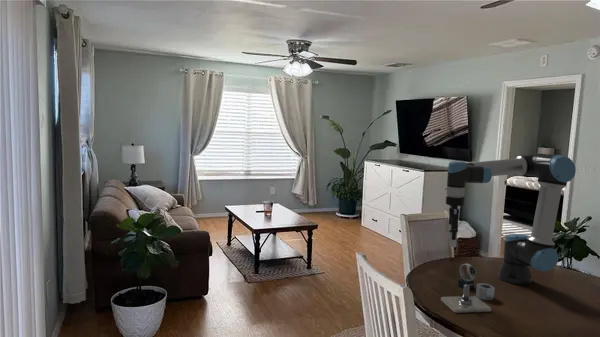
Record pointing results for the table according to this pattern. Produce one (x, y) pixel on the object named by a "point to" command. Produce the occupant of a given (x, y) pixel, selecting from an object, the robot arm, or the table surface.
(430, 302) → the table surface
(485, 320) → the table surface
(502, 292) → the table surface
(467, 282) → the watch
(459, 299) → the block
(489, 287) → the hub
